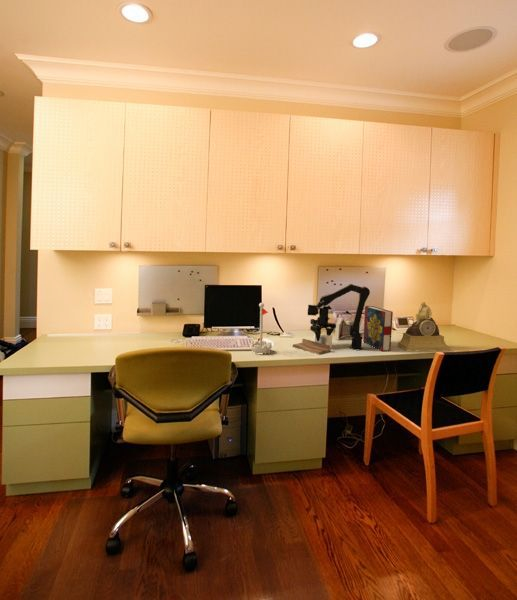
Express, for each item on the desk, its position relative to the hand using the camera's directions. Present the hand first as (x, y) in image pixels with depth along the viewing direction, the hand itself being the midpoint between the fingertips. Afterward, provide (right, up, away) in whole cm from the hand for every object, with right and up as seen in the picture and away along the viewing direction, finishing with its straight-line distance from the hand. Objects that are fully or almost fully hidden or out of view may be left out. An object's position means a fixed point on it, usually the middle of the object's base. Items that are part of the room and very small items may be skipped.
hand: (322, 339), depth 251 cm
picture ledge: (-9, -5, -6) cm, 12 cm away
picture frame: (0, -5, +1) cm, 5 cm away
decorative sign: (+20, -1, +29) cm, 35 cm away
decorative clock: (+65, -6, +1) cm, 65 cm away
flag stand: (-40, -6, -14) cm, 43 cm away
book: (+35, -5, +4) cm, 35 cm away
